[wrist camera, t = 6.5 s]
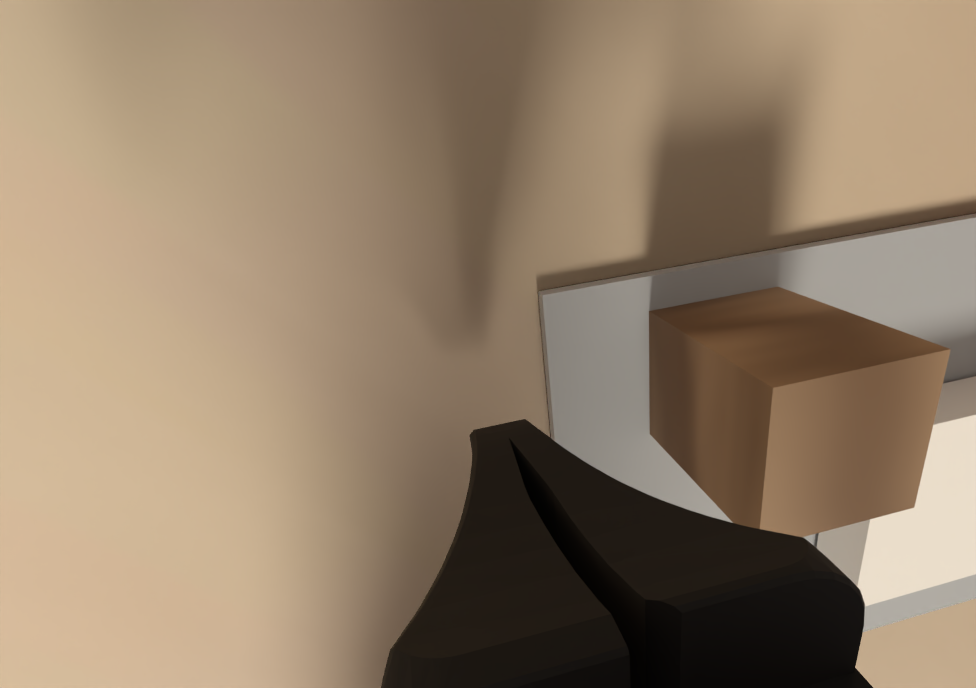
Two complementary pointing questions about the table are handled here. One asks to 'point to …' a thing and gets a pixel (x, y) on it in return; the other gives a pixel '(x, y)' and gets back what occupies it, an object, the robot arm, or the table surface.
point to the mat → (801, 269)
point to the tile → (921, 515)
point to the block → (793, 408)
